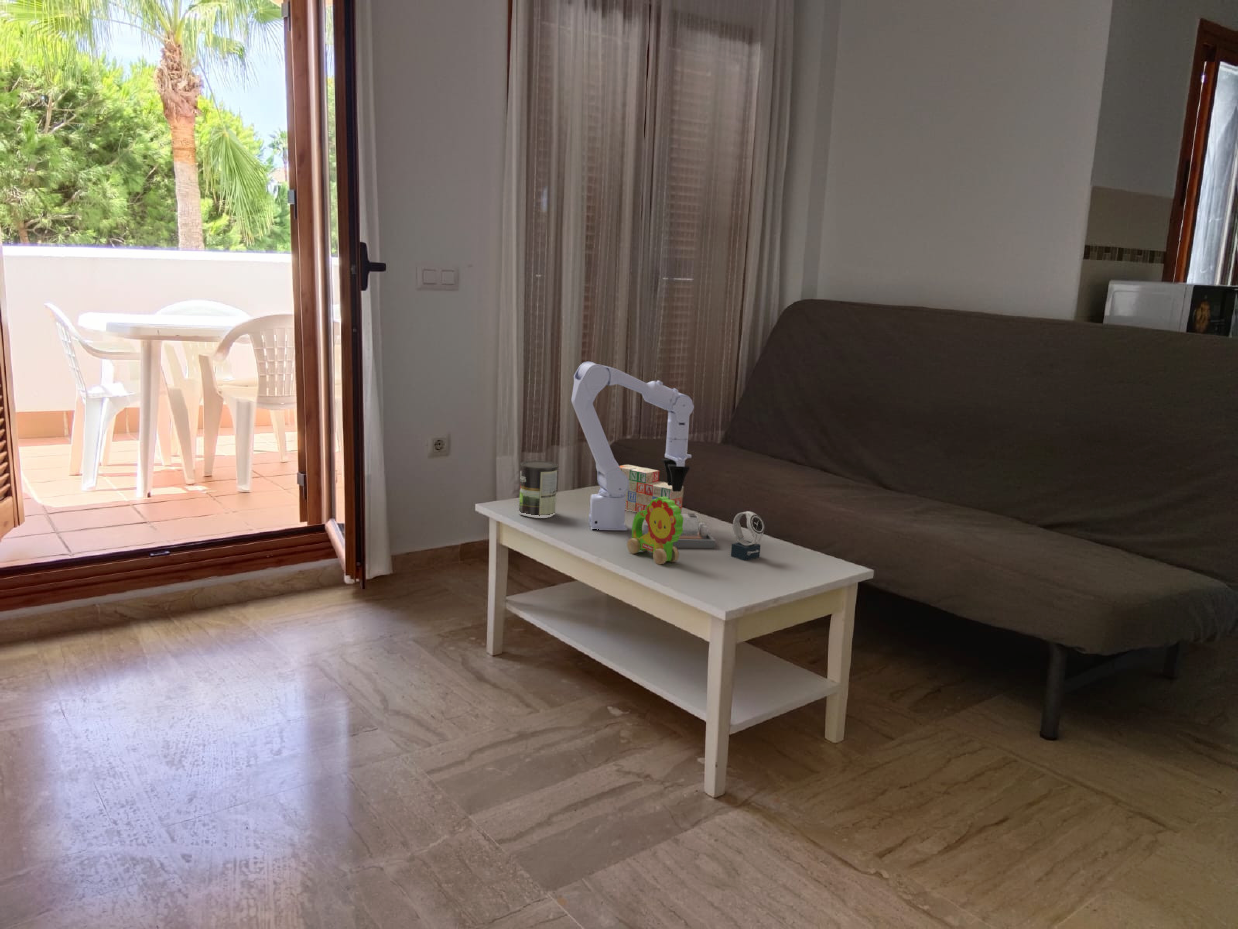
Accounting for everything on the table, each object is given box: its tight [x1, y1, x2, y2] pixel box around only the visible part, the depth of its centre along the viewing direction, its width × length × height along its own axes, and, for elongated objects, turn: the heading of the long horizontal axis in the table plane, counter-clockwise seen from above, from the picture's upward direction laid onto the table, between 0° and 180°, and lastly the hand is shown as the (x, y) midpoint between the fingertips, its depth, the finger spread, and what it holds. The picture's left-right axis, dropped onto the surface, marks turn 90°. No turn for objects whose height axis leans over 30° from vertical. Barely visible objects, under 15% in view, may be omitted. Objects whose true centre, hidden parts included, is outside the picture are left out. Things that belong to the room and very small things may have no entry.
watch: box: [730, 510, 766, 561], centre depth 220 cm, size 6×8×11 cm
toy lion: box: [626, 497, 683, 566], centre depth 214 cm, size 16×5×15 cm, turn 38°
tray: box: [642, 522, 716, 549], centre depth 233 cm, size 16×14×4 cm
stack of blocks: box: [619, 464, 684, 514], centre depth 261 cm, size 21×6×12 cm, turn 47°
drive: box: [679, 512, 700, 537], centre depth 233 cm, size 9×4×5 cm, turn 97°
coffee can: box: [518, 460, 559, 516], centre depth 252 cm, size 10×10×14 cm
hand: (674, 488), depth 246 cm, fingers open, 7 cm apart
